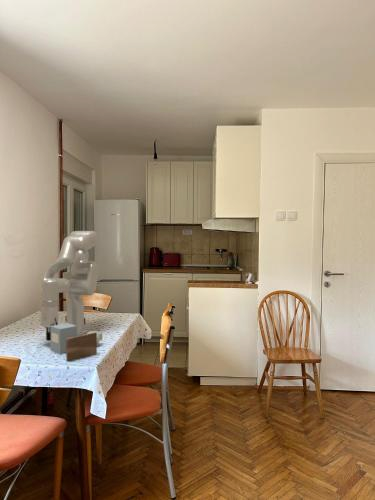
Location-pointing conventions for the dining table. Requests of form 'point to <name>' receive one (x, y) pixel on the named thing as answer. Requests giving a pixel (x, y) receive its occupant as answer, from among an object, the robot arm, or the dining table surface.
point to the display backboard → (81, 346)
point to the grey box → (61, 336)
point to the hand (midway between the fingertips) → (49, 339)
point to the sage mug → (99, 336)
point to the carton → (66, 319)
